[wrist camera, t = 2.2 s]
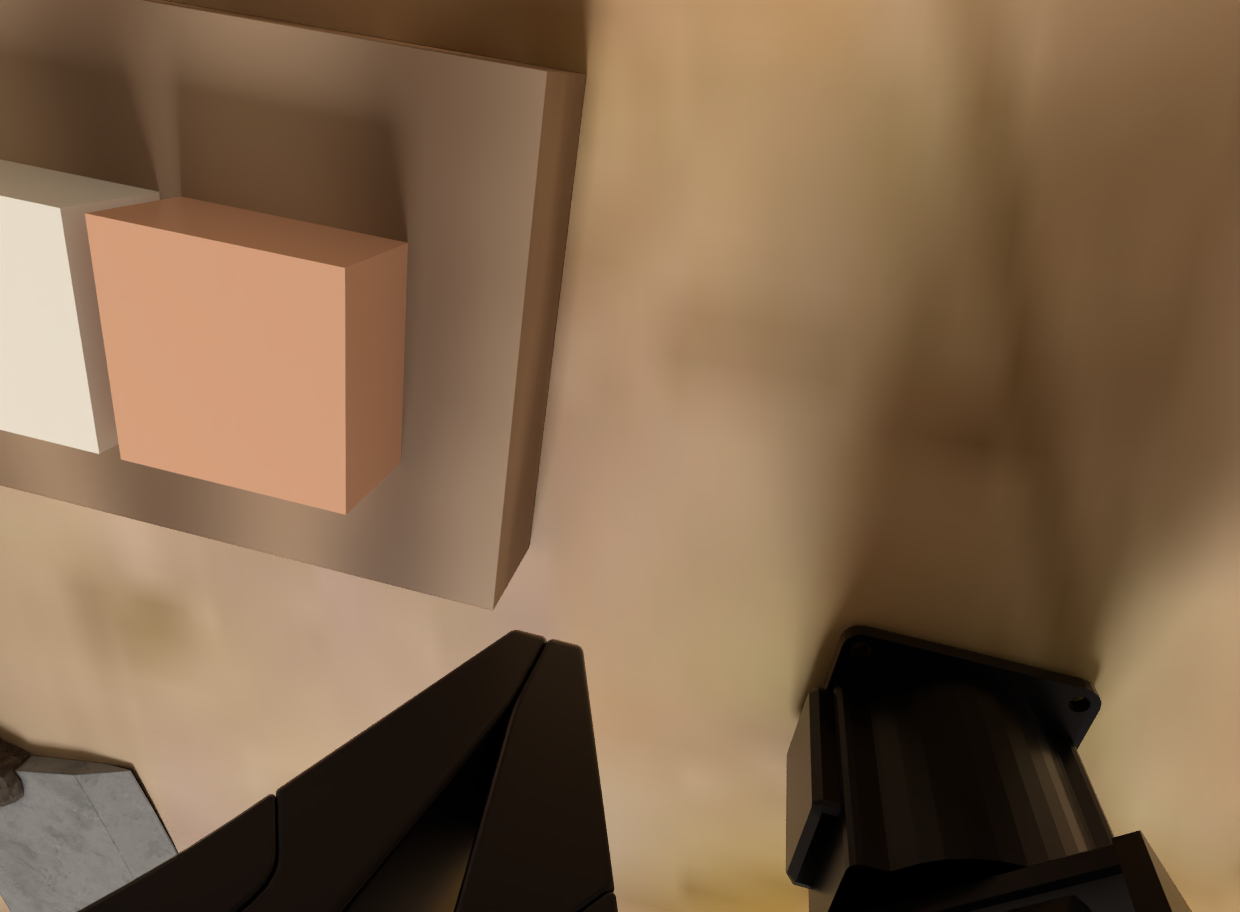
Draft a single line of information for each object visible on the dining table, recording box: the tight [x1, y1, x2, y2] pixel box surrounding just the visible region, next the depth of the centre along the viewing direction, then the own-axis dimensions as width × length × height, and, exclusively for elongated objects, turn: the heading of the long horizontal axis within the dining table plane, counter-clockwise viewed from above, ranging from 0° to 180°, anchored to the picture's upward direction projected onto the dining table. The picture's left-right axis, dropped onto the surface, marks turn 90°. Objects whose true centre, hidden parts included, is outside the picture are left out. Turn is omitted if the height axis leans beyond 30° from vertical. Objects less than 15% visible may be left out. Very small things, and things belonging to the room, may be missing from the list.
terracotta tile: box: [85, 196, 408, 515], centre depth 16 cm, size 5×5×2 cm
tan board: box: [0, 0, 586, 611], centre depth 19 cm, size 17×12×3 cm
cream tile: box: [0, 159, 160, 454], centre depth 17 cm, size 5×5×2 cm
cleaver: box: [0, 739, 178, 912], centre depth 31 cm, size 29×10×2 cm, turn 5°
